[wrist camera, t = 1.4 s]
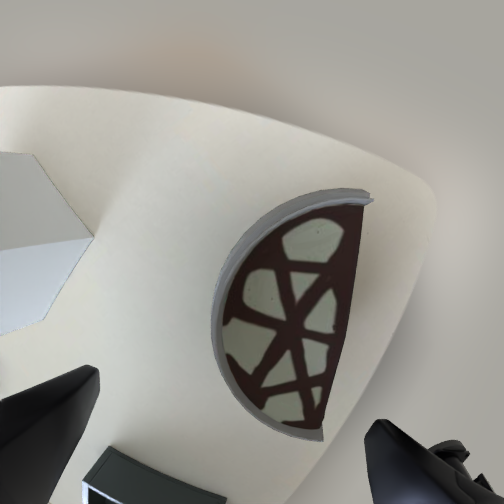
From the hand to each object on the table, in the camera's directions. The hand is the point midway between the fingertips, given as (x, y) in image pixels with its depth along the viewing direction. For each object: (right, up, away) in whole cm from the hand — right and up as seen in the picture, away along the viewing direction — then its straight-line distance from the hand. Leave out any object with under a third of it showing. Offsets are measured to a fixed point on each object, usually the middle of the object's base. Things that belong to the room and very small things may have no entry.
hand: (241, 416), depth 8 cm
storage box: (-12, -27, +19) cm, 35 cm away
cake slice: (+2, +3, +14) cm, 14 cm away
